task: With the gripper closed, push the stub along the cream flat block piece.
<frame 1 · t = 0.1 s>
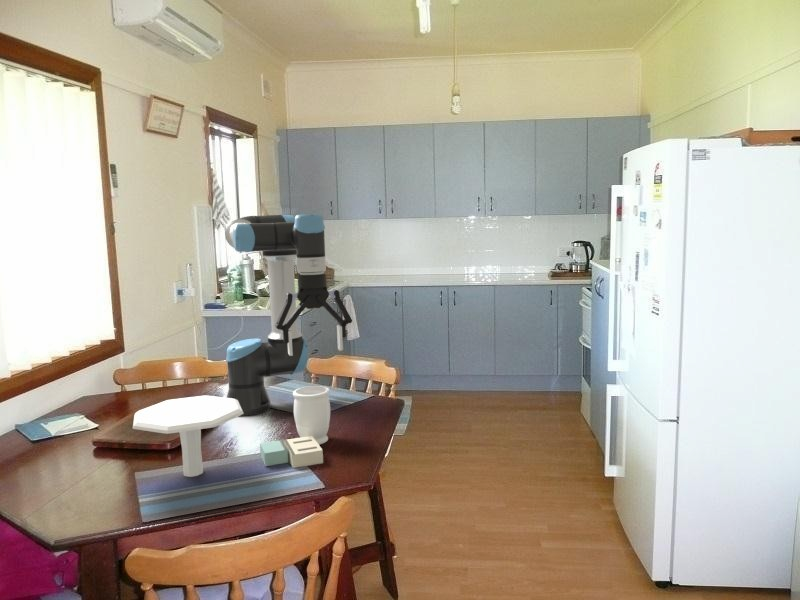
hand: (315, 352, 170), 28 cm above the table, fingers open, 13 cm apart
jar: (313, 441, 183), on the table
cream flat block piece: (303, 457, 171), on the table
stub: (273, 452, 170), point 2 cm above the table, slide at 0.0 cm
table 2: (193, 473, 163), on the table
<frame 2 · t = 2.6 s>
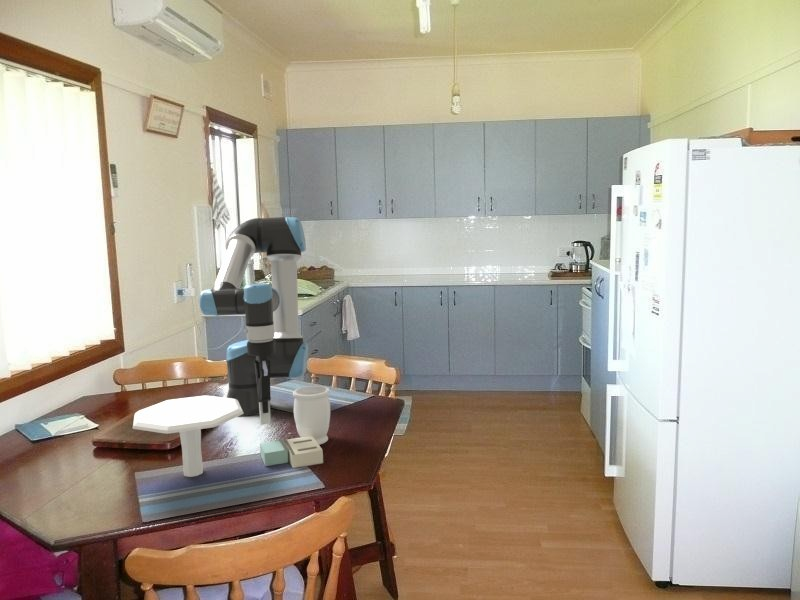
hand: (265, 423, 178), 7 cm above the table, fingers closed
nothing on the table moved.
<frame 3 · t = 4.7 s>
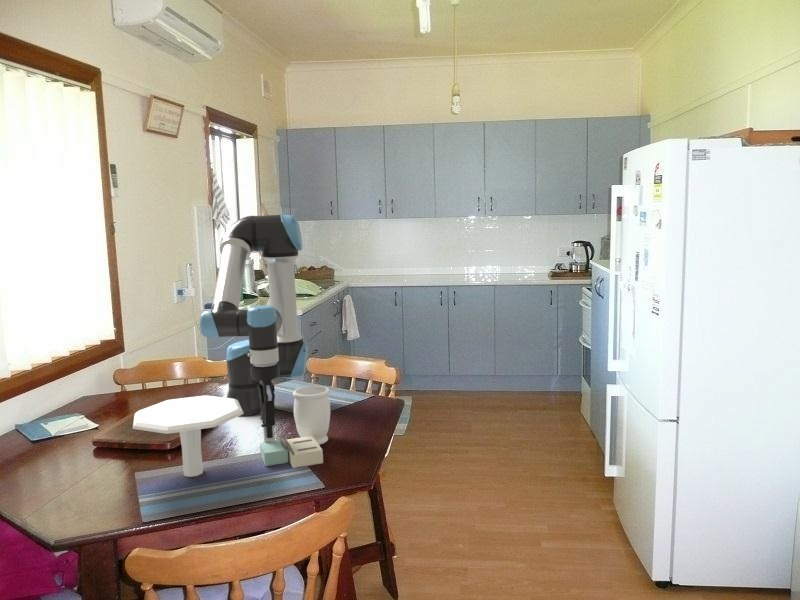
hand: (269, 447, 174), 2 cm above the table, fingers closed
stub: (273, 452, 170), point 2 cm above the table, slide at 0.0 cm, touching gripper
everything else where it was.
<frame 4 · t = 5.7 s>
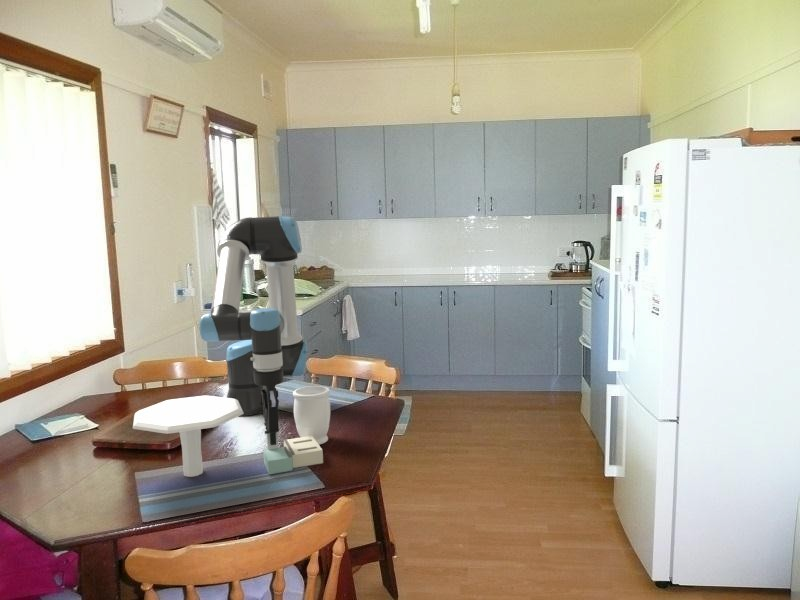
hand: (273, 455, 169), 2 cm above the table, fingers closed
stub: (277, 460, 164), point 2 cm above the table, slide at 5.8 cm, touching gripper
everything else where it was.
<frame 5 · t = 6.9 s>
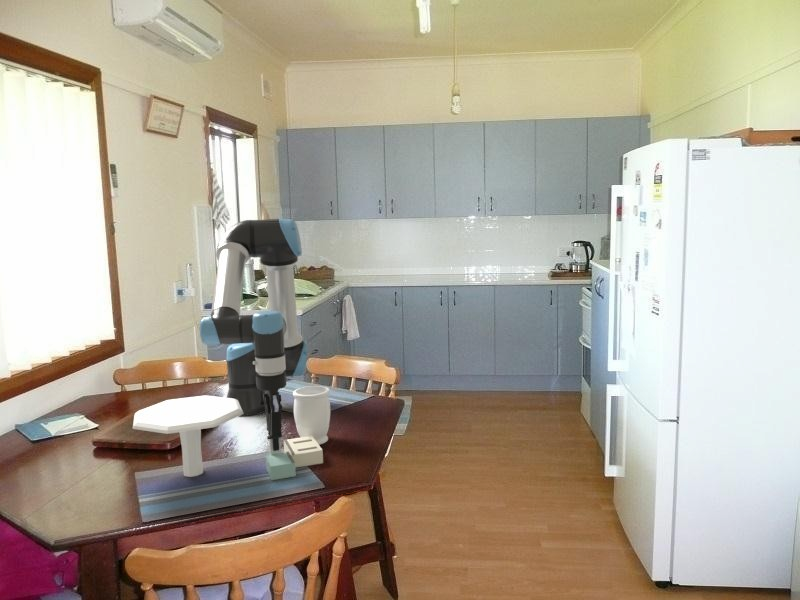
hand: (275, 460, 165), 1 cm above the table, fingers closed
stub: (280, 465, 161), point 2 cm above the table, slide at 9.7 cm, touching gripper
everything else where it was.
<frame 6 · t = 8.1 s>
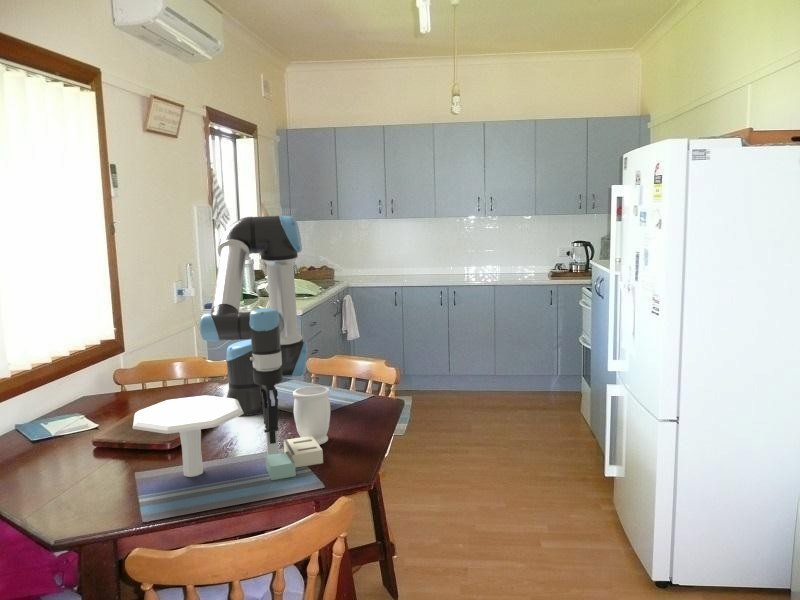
hand: (272, 453, 171), 1 cm above the table, fingers closed
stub: (280, 465, 161), point 2 cm above the table, slide at 9.7 cm
everything else where it was.
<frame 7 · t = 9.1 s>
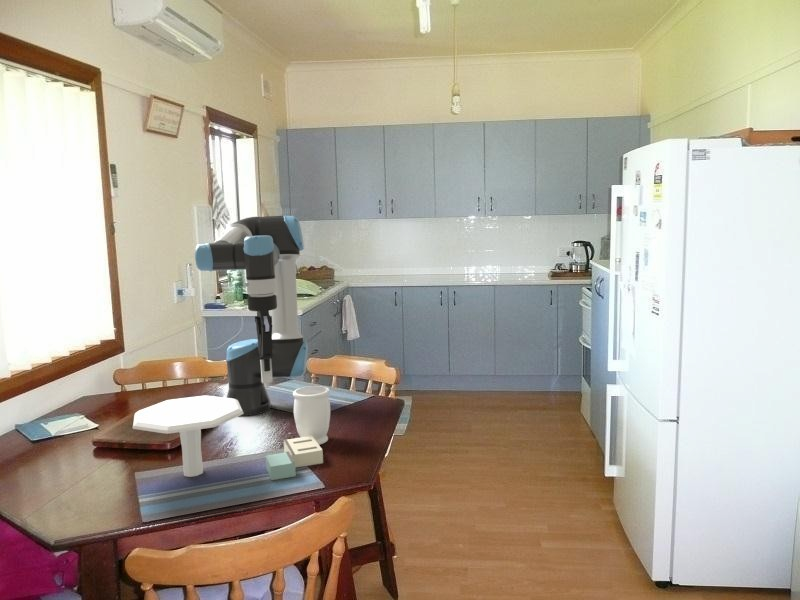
hand: (267, 381, 170), 20 cm above the table, fingers closed
nothing on the table moved.
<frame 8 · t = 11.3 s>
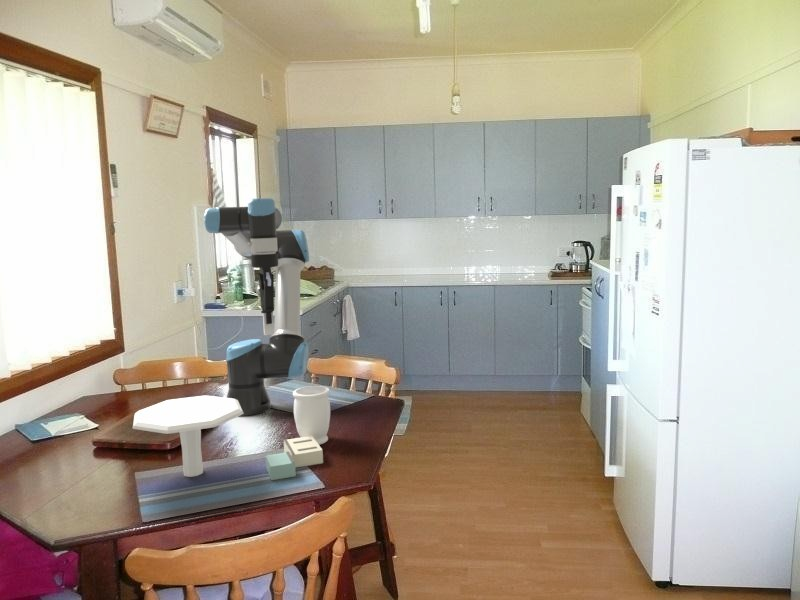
hand: (269, 334, 185), 30 cm above the table, fingers closed
nothing on the table moved.
at the end: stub slide at 9.7 cm; the gripper is holding nothing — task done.
